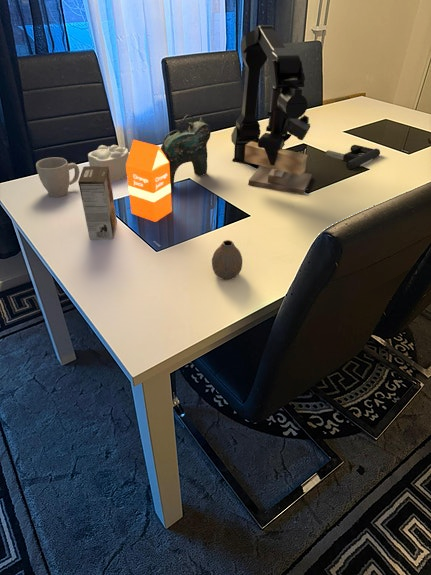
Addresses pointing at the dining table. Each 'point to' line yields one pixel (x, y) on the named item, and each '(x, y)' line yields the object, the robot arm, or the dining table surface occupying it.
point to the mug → (56, 175)
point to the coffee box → (98, 202)
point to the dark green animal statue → (187, 148)
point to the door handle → (356, 156)
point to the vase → (227, 261)
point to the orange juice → (148, 181)
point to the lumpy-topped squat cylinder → (110, 160)
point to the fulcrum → (280, 180)
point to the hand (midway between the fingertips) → (274, 162)
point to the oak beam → (284, 160)
